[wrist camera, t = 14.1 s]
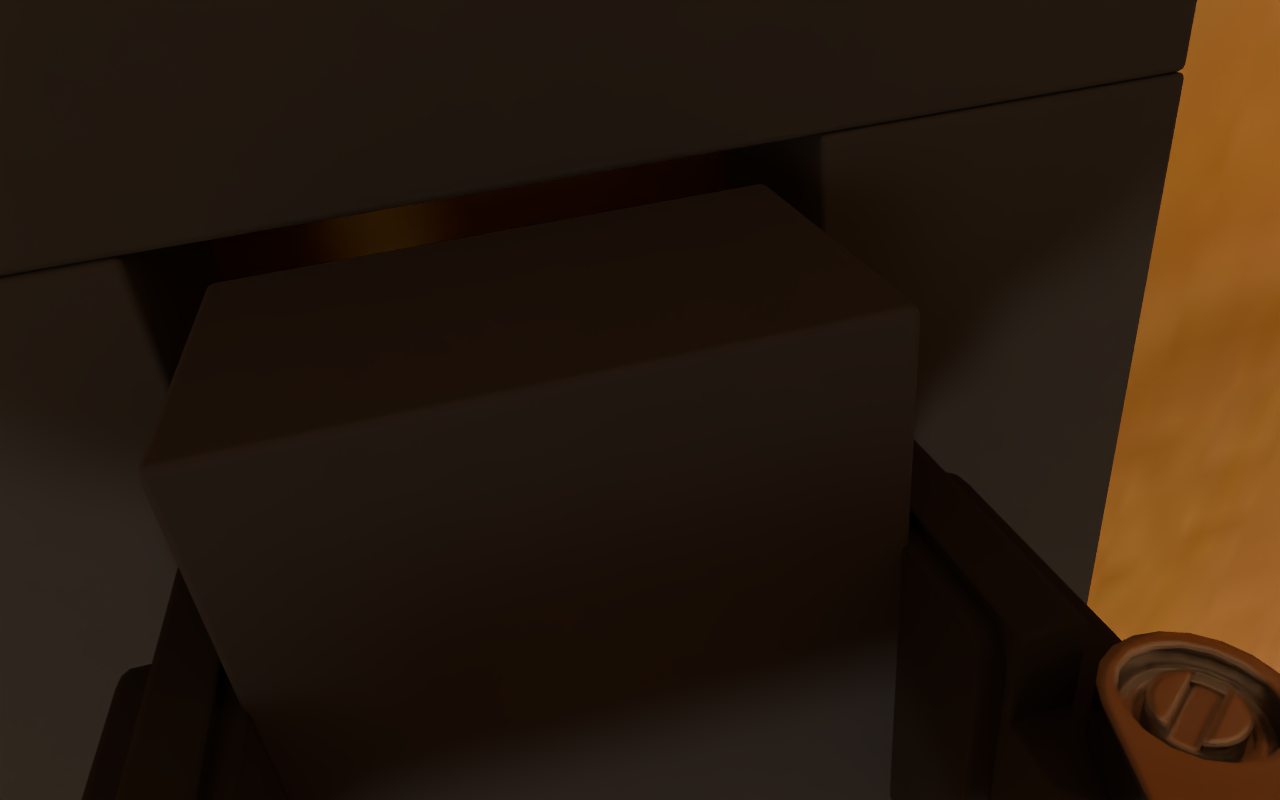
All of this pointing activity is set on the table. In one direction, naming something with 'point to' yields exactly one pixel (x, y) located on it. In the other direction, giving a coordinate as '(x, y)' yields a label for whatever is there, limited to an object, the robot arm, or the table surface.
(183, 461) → the loose pad
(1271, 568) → the table surface
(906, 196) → the base pad
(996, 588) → the robot arm
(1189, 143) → the table surface
